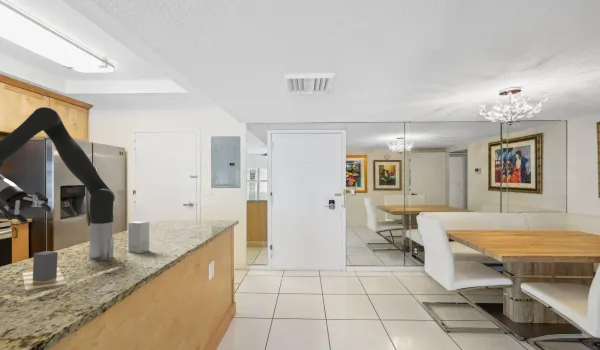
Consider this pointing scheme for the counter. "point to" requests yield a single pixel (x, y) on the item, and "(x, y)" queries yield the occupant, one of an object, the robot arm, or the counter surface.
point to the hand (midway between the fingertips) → (38, 216)
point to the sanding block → (45, 266)
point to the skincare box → (138, 236)
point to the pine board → (33, 285)
